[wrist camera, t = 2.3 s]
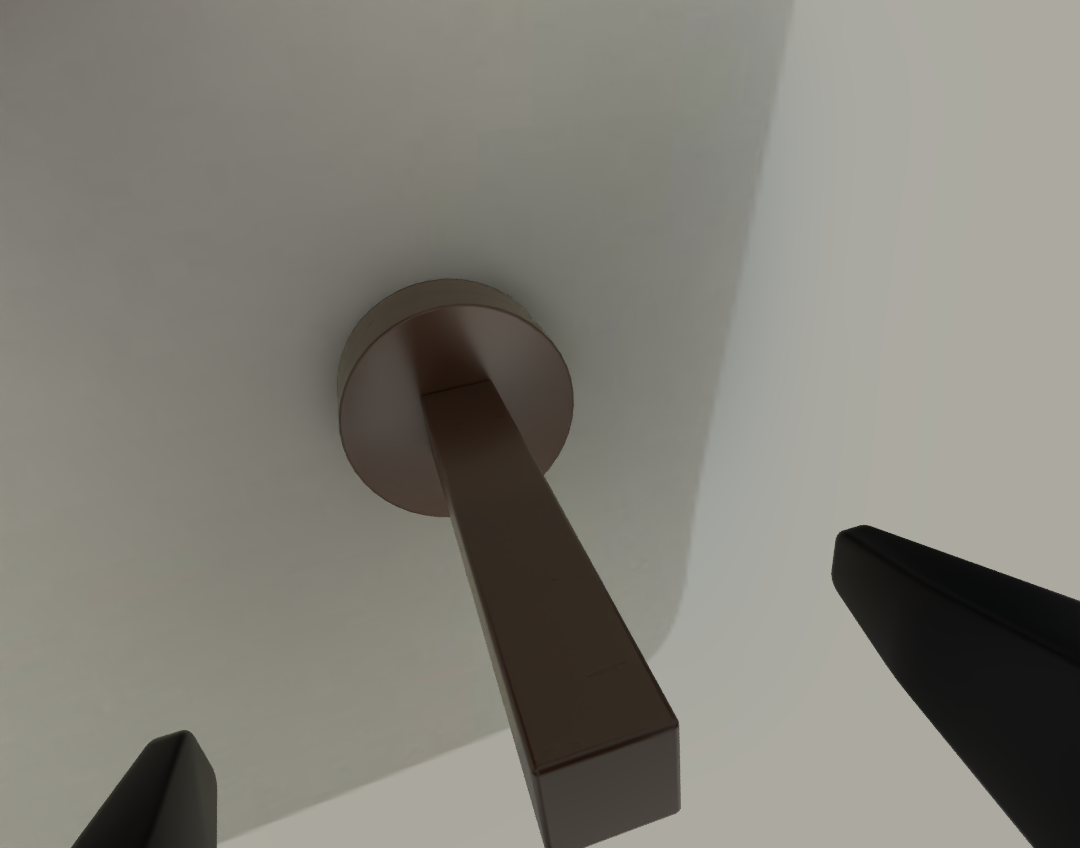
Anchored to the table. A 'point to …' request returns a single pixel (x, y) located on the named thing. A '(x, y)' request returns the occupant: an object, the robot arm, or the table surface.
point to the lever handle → (513, 544)
